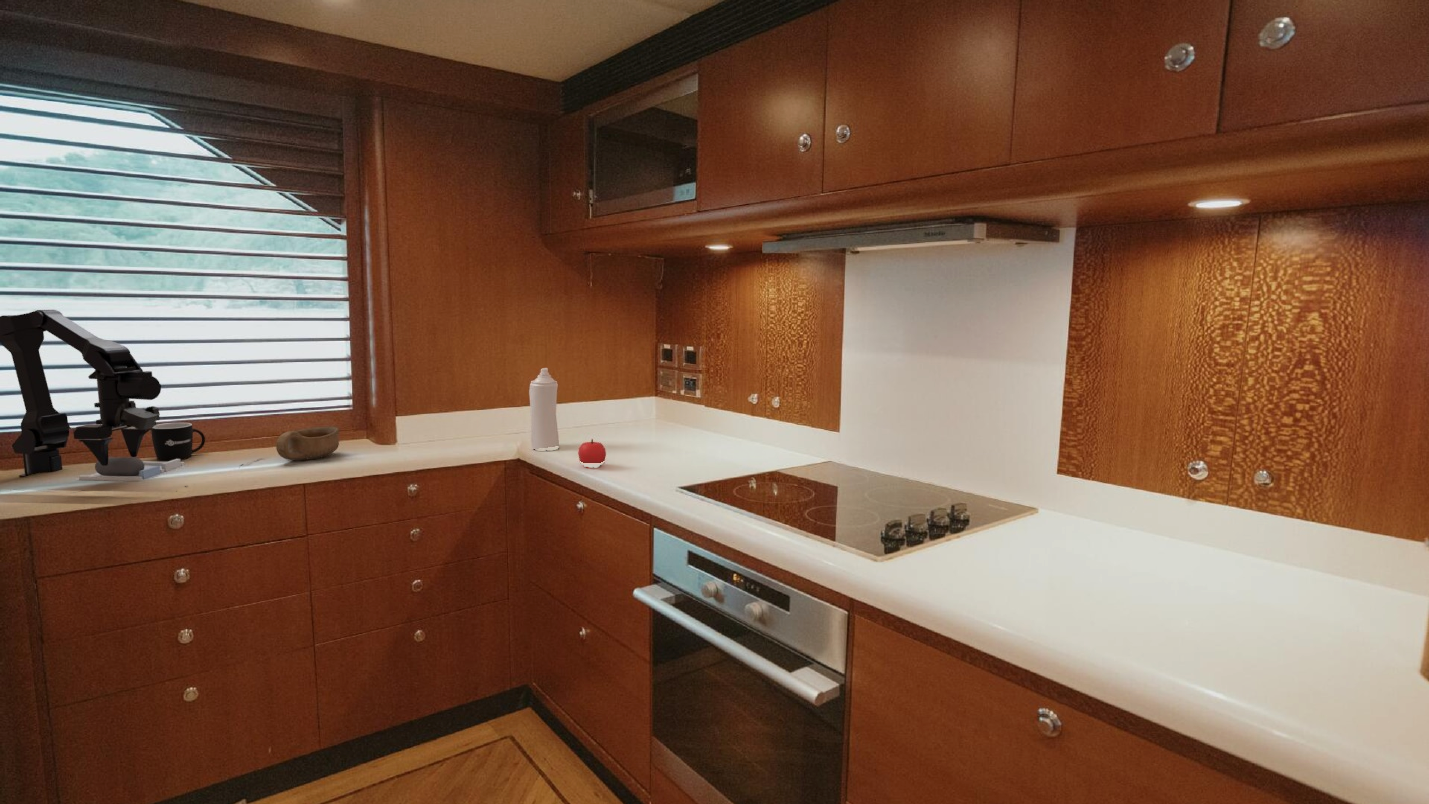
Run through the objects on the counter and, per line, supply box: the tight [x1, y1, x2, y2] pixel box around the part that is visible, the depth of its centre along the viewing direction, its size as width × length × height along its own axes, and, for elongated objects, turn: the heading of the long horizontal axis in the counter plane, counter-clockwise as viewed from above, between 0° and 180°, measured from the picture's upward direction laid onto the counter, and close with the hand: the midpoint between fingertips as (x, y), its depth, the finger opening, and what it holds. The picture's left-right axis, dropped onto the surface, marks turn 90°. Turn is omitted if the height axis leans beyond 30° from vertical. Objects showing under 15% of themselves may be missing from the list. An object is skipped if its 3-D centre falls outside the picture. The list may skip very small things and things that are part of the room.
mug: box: [150, 422, 206, 462], centre depth 199 cm, size 12×9×10 cm
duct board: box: [74, 459, 189, 482], centre depth 183 cm, size 16×16×3 cm
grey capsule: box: [94, 456, 144, 476], centre depth 179 cm, size 11×5×5 cm, turn 92°
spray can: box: [528, 367, 560, 450], centre depth 229 cm, size 12×11×25 cm
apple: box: [577, 438, 607, 463], centre depth 208 cm, size 8×8×8 cm
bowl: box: [275, 426, 340, 461], centre depth 206 cm, size 18×14×10 cm
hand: (119, 461), depth 178 cm, fingers open, 9 cm apart
